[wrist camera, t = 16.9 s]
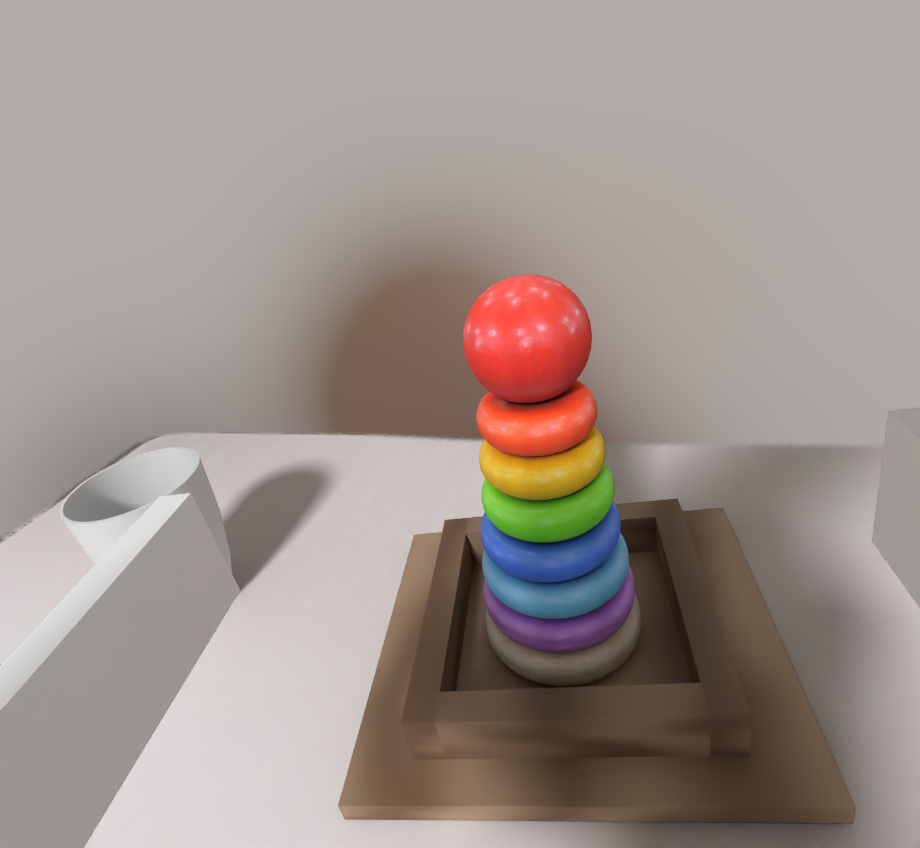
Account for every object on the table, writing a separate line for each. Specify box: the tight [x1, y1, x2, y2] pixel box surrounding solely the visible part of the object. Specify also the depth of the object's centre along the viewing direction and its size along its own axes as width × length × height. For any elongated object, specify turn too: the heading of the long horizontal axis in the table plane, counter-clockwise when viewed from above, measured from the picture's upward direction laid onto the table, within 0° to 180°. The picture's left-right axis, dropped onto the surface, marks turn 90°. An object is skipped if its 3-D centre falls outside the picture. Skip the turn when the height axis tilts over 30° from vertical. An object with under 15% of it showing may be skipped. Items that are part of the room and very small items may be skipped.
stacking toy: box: [463, 275, 642, 686], centre depth 27 cm, size 8×8×19 cm
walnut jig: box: [338, 499, 856, 823], centre depth 31 cm, size 20×18×4 cm
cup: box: [59, 447, 232, 573], centre depth 39 cm, size 8×8×10 cm
